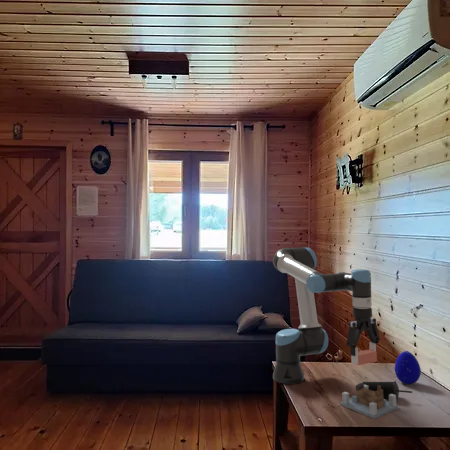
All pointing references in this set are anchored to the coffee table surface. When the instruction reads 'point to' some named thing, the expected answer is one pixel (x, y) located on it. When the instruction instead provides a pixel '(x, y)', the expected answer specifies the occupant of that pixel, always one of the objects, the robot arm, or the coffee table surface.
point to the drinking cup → (386, 388)
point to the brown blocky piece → (369, 395)
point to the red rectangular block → (366, 357)
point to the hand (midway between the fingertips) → (364, 361)
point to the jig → (372, 407)
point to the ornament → (407, 368)
